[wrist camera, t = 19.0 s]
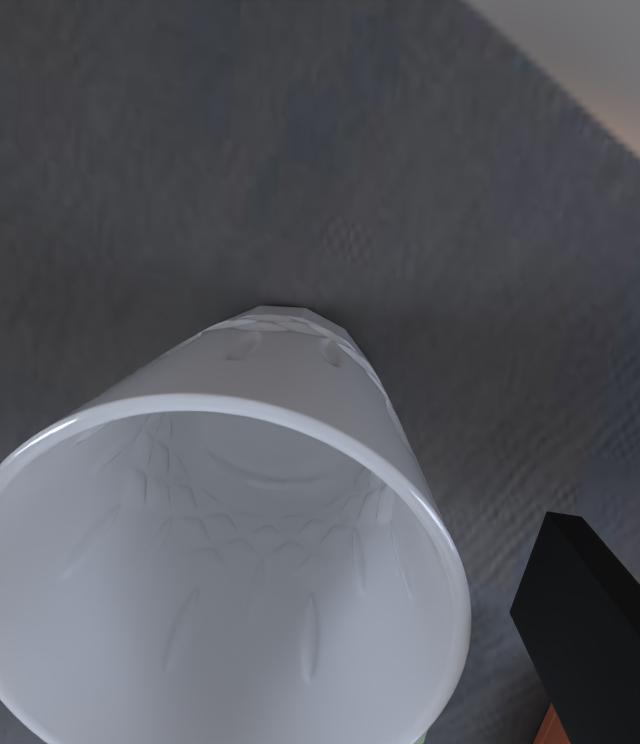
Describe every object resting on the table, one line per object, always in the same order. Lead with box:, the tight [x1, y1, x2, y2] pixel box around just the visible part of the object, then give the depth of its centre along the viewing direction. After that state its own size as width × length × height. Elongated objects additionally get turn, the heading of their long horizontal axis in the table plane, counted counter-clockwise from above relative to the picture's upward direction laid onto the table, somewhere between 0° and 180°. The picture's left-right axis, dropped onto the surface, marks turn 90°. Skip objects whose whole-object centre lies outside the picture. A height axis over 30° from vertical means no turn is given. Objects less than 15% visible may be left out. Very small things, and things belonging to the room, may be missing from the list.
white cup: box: [0, 306, 471, 744], centre depth 12 cm, size 8×8×10 cm
